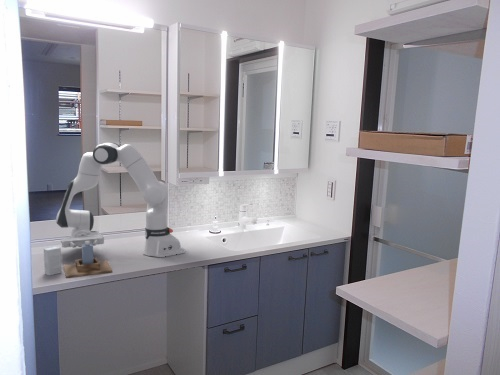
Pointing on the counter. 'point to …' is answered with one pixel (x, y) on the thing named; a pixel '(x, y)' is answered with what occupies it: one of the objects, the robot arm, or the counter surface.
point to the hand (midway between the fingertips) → (84, 245)
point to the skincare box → (52, 260)
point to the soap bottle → (87, 253)
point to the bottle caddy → (87, 268)
